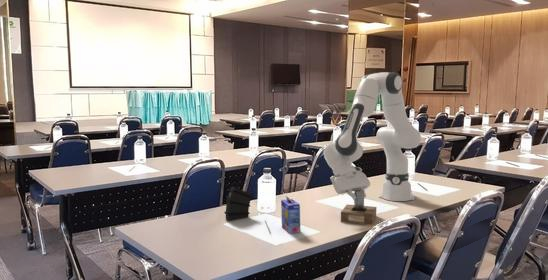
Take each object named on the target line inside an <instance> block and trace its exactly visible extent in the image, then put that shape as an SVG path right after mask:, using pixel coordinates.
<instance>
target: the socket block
mask: <svg viewBox="0 0 548 280" xmlns="http://www.w3.org/2000/svg"><path fill="white" fill-rule="evenodd" d="M376 218H377V206H368V205H364V212H361V211H354V204H346V205H345V206H344V207H343V208H342V210H341V211H340V222H341V223H350V224H351V223H352V224H363V225H369V226H370V225H373V224H374V222H375V220H376Z"/></svg>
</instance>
